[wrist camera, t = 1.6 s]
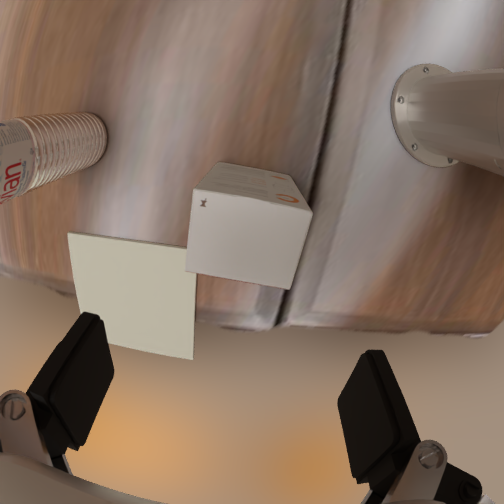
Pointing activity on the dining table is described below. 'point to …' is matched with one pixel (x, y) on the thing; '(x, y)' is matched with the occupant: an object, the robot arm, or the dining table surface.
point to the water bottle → (47, 149)
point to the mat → (136, 292)
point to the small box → (247, 226)
